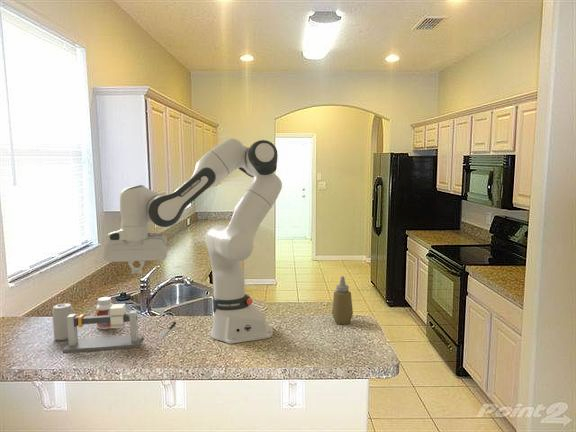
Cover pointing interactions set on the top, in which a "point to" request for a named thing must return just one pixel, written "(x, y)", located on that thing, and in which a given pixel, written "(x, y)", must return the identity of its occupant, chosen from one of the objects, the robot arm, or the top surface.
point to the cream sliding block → (117, 315)
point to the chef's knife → (165, 331)
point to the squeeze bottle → (342, 303)
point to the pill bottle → (104, 311)
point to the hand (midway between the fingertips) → (137, 273)
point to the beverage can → (61, 320)
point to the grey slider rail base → (101, 342)
